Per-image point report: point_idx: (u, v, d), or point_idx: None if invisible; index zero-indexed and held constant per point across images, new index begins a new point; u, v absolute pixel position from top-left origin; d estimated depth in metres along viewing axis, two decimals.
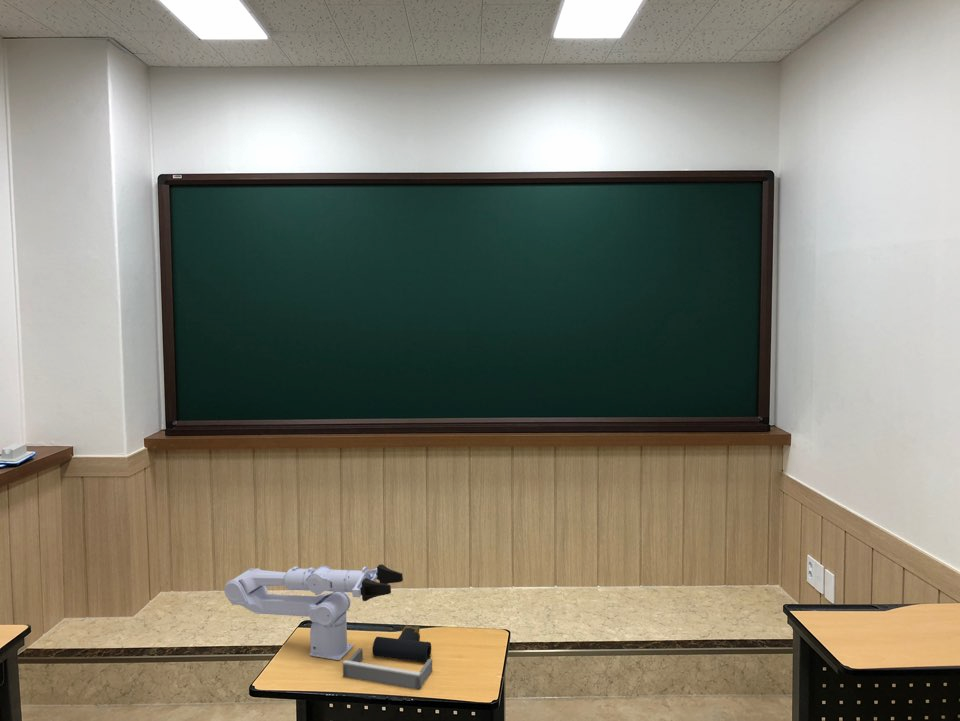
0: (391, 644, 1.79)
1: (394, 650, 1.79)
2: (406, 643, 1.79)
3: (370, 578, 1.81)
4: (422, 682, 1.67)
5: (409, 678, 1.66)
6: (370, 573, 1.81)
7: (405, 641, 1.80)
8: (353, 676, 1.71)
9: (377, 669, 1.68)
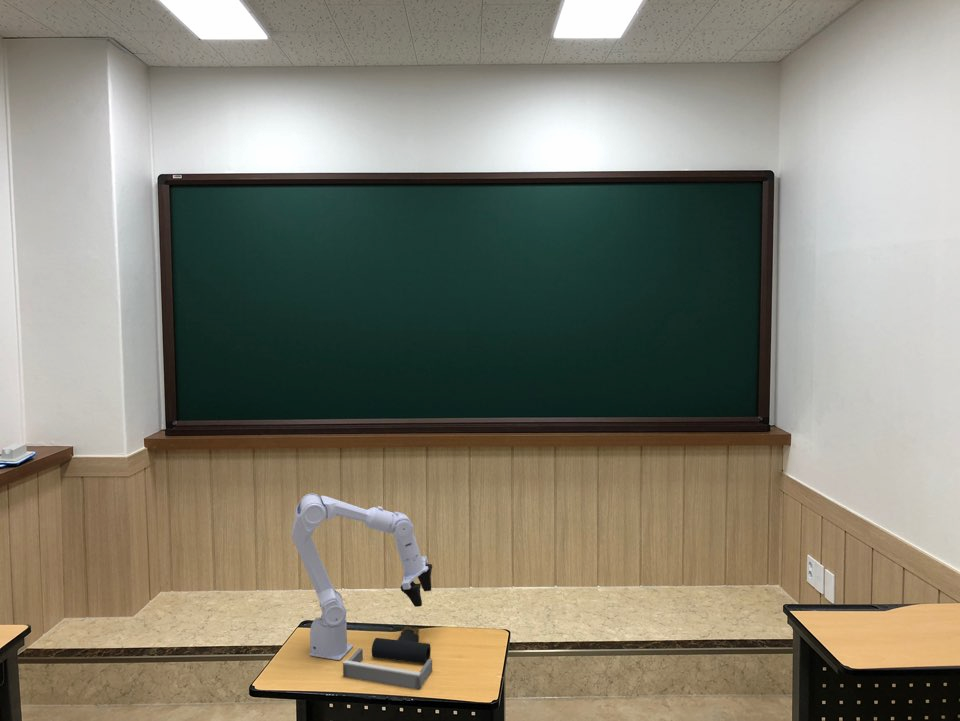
0: (390, 645, 1.79)
1: (393, 651, 1.78)
2: (405, 644, 1.79)
3: None
4: (422, 682, 1.67)
5: (409, 678, 1.66)
6: None
7: (404, 643, 1.79)
8: (353, 676, 1.71)
9: (377, 669, 1.68)
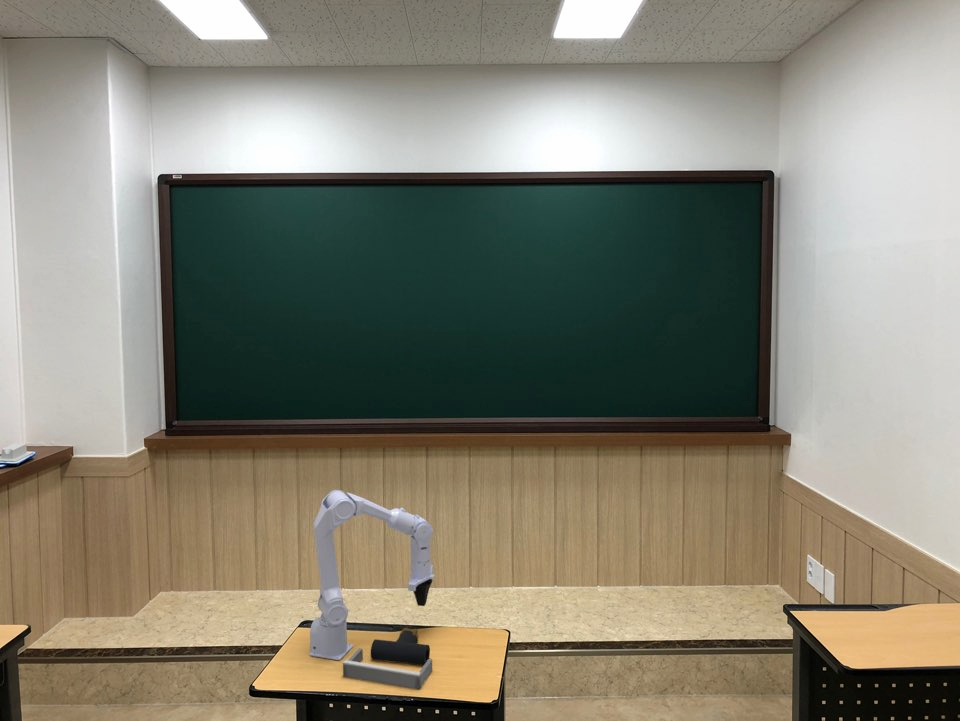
0: (389, 647, 1.78)
1: (392, 653, 1.77)
2: (404, 646, 1.78)
3: None
4: (422, 682, 1.67)
5: (409, 678, 1.66)
6: None
7: (403, 644, 1.78)
8: (353, 676, 1.71)
9: (377, 669, 1.68)
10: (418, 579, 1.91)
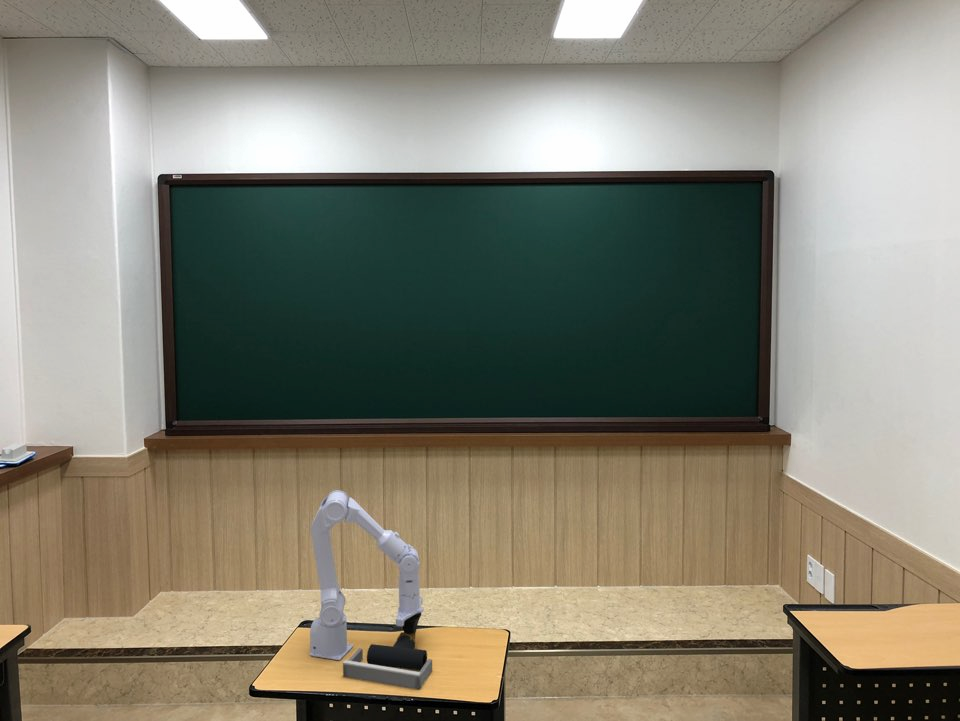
0: (386, 652, 1.75)
1: (389, 658, 1.74)
2: (401, 651, 1.75)
3: None
4: (422, 682, 1.67)
5: (409, 678, 1.66)
6: None
7: (400, 649, 1.76)
8: (353, 676, 1.71)
9: (377, 669, 1.68)
10: (406, 613, 1.83)
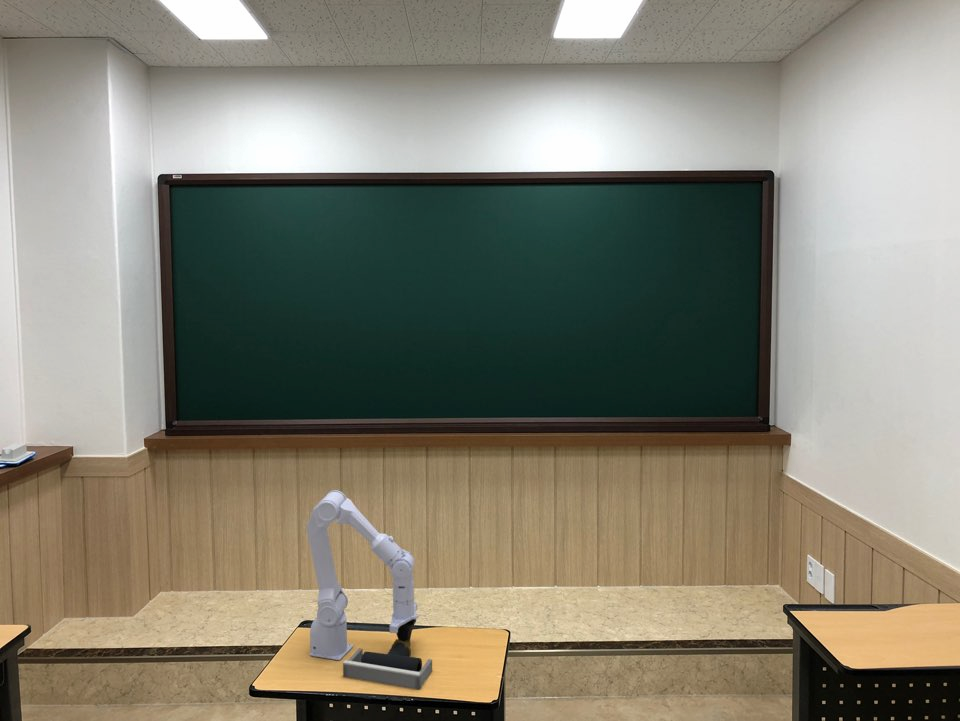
0: (380, 660, 1.72)
1: None
2: (395, 659, 1.71)
3: None
4: (422, 682, 1.67)
5: (409, 678, 1.66)
6: None
7: (394, 657, 1.72)
8: (353, 676, 1.71)
9: (377, 669, 1.68)
10: (400, 620, 1.79)
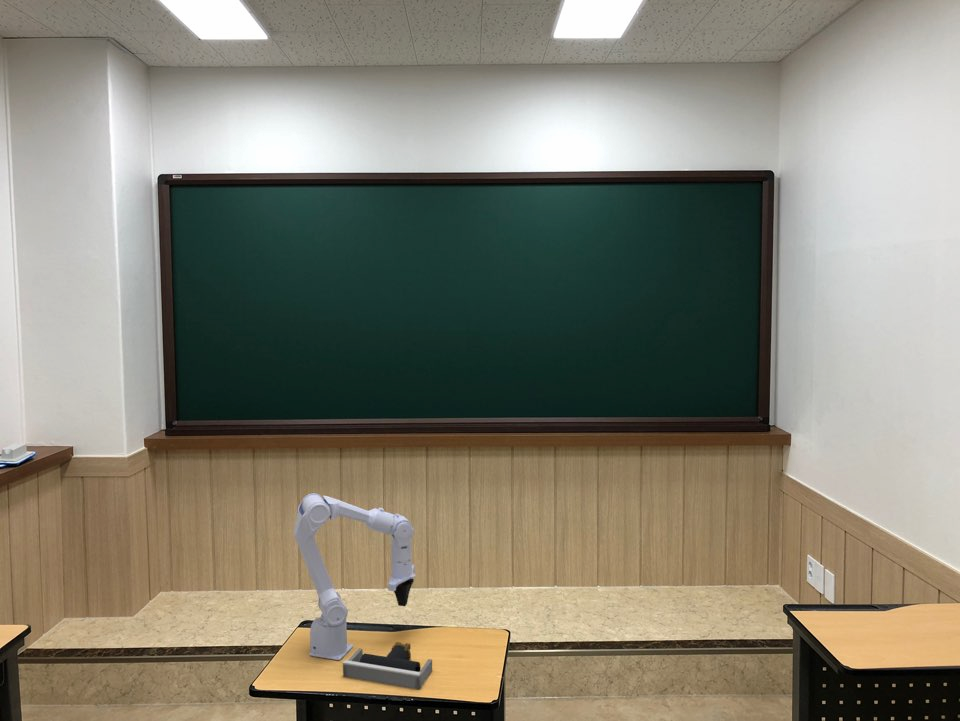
0: (378, 662, 1.70)
1: None
2: (393, 662, 1.70)
3: None
4: (422, 682, 1.67)
5: (409, 678, 1.66)
6: None
7: (392, 660, 1.71)
8: (353, 676, 1.71)
9: (377, 669, 1.68)
10: (399, 579, 1.87)
